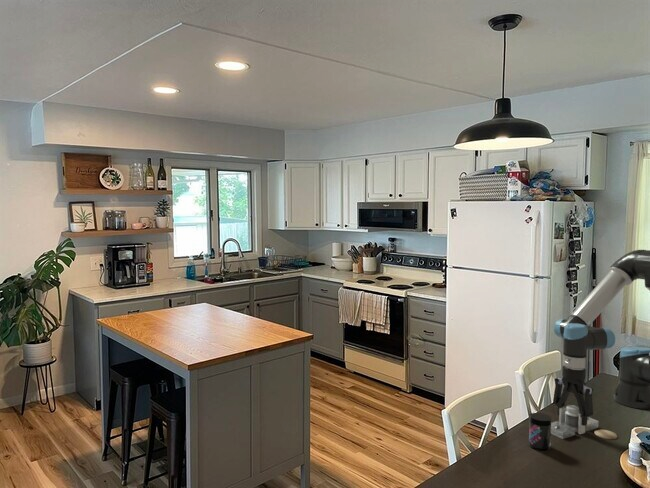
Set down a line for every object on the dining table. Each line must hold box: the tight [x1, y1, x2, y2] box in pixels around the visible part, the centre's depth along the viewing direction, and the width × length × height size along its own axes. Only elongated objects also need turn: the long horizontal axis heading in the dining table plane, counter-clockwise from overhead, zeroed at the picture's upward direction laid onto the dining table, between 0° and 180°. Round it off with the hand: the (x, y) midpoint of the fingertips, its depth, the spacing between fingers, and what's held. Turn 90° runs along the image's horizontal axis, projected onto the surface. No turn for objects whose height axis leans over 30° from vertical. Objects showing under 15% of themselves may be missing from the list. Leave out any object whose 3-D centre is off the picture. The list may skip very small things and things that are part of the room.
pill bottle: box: [565, 404, 581, 433], centre depth 180 cm, size 5×5×8 cm
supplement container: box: [528, 412, 552, 452], centre depth 166 cm, size 7×7×10 cm
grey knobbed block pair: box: [551, 413, 599, 440], centre depth 180 cm, size 20×7×3 cm, turn 118°
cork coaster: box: [594, 429, 618, 440], centre depth 175 cm, size 7×7×1 cm
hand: (571, 428), depth 180 cm, fingers open, 7 cm apart
